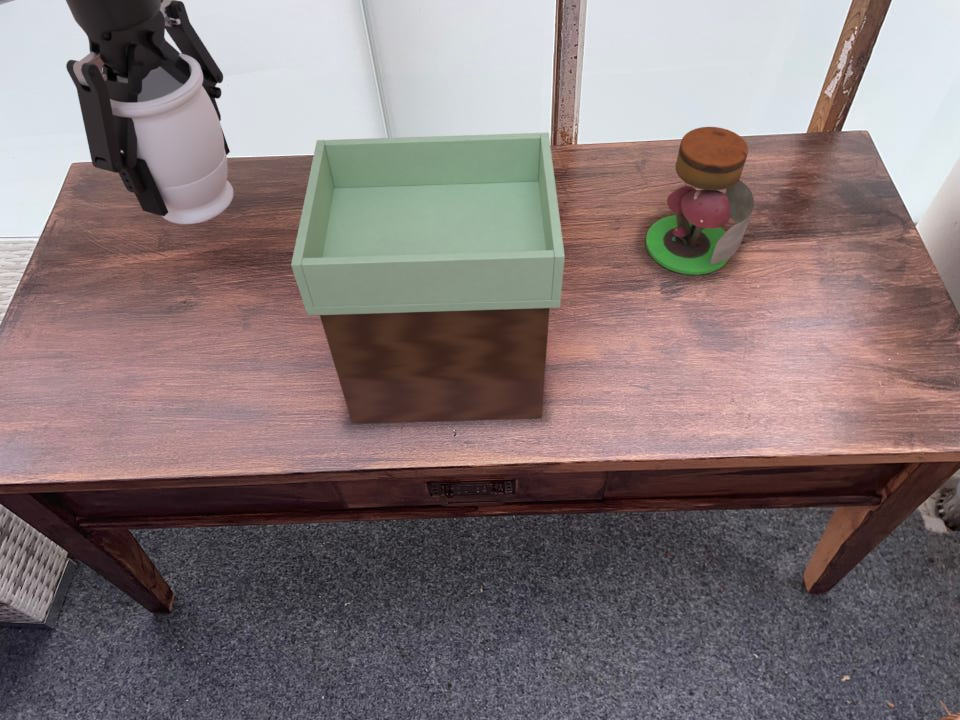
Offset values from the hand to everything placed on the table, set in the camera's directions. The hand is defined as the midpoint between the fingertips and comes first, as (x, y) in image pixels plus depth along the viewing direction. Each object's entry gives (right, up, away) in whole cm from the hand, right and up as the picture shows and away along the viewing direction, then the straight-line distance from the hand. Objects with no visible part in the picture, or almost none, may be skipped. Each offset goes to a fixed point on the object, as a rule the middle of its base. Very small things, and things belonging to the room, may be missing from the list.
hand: (188, 180), depth 79 cm
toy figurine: (+58, -6, +12) cm, 60 cm away
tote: (+28, -9, -13) cm, 32 cm away
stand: (+28, -20, +1) cm, 35 cm away
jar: (0, -2, +2) cm, 3 cm away
